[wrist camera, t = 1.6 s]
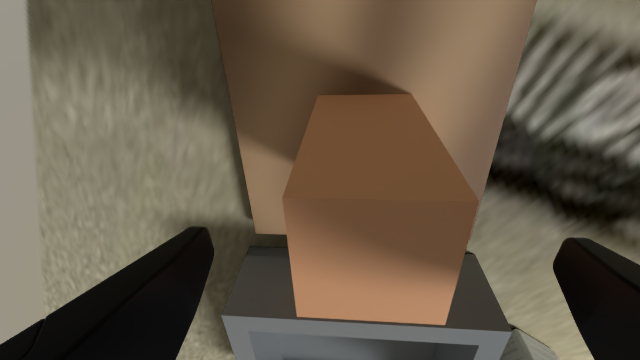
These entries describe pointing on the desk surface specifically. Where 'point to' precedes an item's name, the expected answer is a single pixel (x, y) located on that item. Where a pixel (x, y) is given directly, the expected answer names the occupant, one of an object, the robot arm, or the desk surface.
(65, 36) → the desk surface
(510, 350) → the skincare box
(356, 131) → the tan wooden brick
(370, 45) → the stud base
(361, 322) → the bin
